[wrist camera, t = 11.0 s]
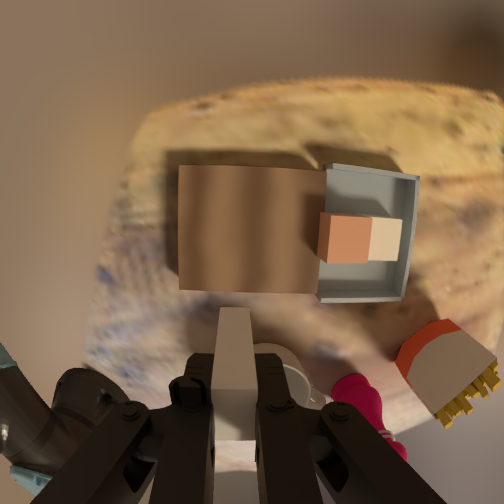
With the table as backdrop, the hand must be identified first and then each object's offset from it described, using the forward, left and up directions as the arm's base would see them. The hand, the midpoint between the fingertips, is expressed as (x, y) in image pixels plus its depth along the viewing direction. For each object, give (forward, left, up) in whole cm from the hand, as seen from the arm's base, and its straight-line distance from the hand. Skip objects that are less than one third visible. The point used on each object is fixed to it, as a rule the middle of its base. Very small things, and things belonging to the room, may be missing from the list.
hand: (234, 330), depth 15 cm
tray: (+16, +2, -21) cm, 26 cm away
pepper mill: (+18, -23, -21) cm, 36 cm away
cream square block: (+16, +2, -20) cm, 26 cm away
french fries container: (+29, -15, -21) cm, 39 cm away
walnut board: (+1, +2, -21) cm, 21 cm away
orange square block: (+11, +2, -18) cm, 21 cm away
